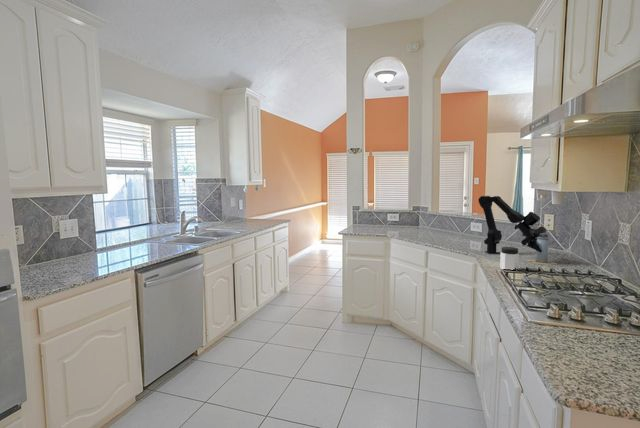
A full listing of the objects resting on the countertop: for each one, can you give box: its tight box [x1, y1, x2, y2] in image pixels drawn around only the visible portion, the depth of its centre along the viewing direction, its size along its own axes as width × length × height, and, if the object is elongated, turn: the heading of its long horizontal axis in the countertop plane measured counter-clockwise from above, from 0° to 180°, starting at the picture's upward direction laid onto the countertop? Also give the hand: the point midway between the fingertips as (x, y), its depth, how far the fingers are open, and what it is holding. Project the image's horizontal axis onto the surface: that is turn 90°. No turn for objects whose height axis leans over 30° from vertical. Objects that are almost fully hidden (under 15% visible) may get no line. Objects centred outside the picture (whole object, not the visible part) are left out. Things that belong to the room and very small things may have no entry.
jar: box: [499, 246, 520, 270], centre depth 194 cm, size 9×8×12 cm
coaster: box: [526, 259, 558, 266], centre depth 207 cm, size 12×12×1 cm
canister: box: [535, 234, 550, 263], centre depth 207 cm, size 6×6×16 cm
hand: (544, 251), depth 205 cm, fingers closed on canister, 6 cm apart
